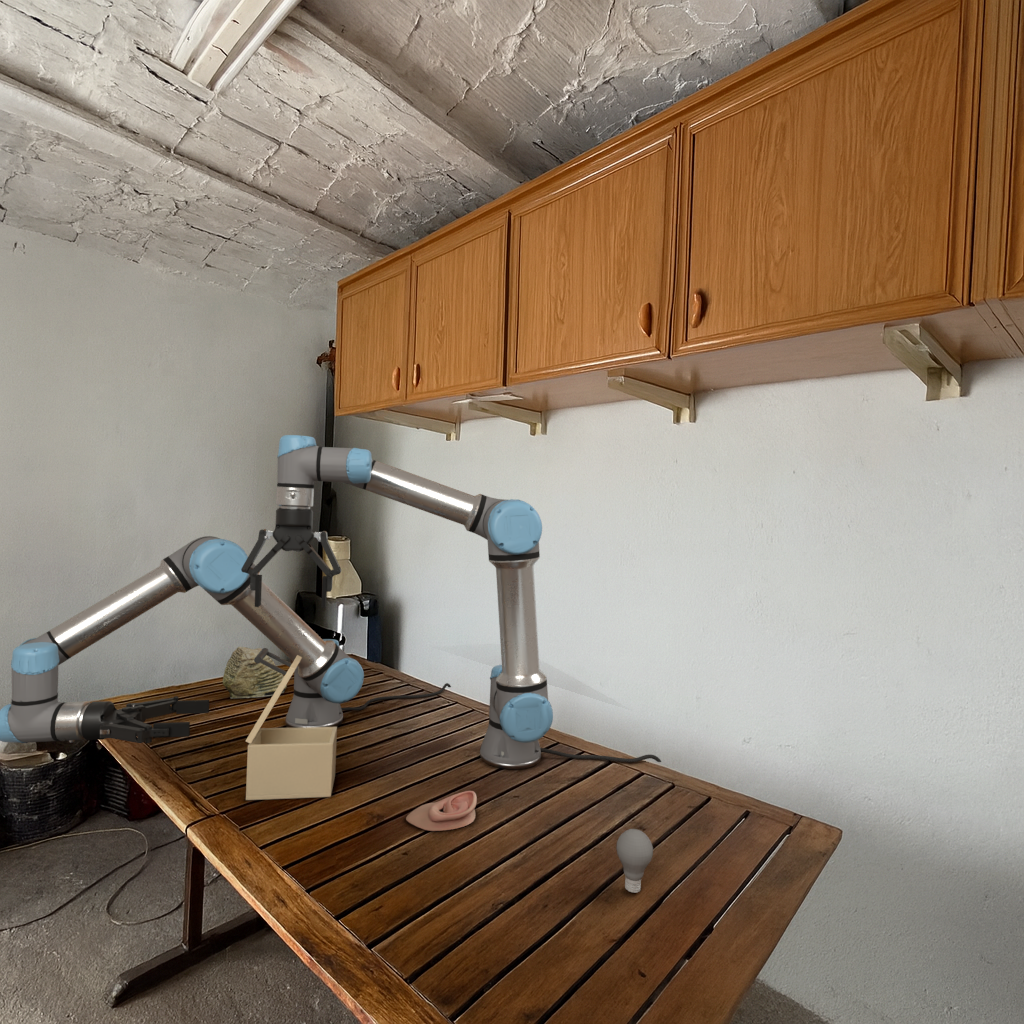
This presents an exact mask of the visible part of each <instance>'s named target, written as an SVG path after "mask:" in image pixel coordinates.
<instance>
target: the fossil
mask: <svg viewBox="0 0 1024 1024" xmlns="http://www.w3.org/2000/svg"><path fill="white" fill-rule="evenodd" d="M262 649H263V648H260V647H258V648H251V647H247V646H246V647H245V646H238V647H237V648H236V649H235V650H233V651H232V653H231V656H230V657H229V659H228V660H227V663H226V666H225V668H224V671H223V675H222V676H223V677H222V685H223V687H224V688H225V690H226V691H228V693H229V698H230V699H250V698H264V697H272V696H273V694H274V693H275V691H276V689H277V688H278V686H279V684H280V683H281V681H282V679H283V678H284V676H285V675H283V674H281V673H279V672H277V671H275V670H273V669H271V668H269V667H267V666H266V665H264V664H262V663H255V662H254V658H255V657H256V656H257V655H258V654H259V652H260V651H261V650H262ZM263 660H265V661H267V662H269V663H271V664H273V665H275V666H277V665H276V663H275V662H274V659H273V658H271V657H269V656H267V655H266V656H265V657H264V659H263ZM287 687H288V686H287V684H286V686H285V688H284V689H283V691H282V693H281V694H284V693H285V691H286V689H287Z"/></svg>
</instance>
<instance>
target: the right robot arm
mask: <svg viewBox="0 0 1024 1024" xmlns="http://www.w3.org/2000/svg"><path fill="white" fill-rule="evenodd" d="M278 443H279V444H278V453H277V475H276V476H277V477H276V479H277V481H276V482H277V483H276V502H275V503H276V506H278V507H277V508H276V510H275V526H274V530H268V529H266V528H261V529H260V530H259V532H258V537H257V538H258V539H257V540H256V543H255V544H254V546H253V548H252V549H251V551H250V553H249V554H248V555H247V556H248V558H247V560H246V562H245V563H244V565H243V567H242V569H241V571H242V572H245V573H248V574H249V575H250V589H251V591H255V607H259V606H260V605H261V589H262V581H263V574H260V575H258V573H259V572H260V573H261V571H262V570H263V568H264V567H266V566H267V564H269V562H270V561H271V560H272V559H273V558H274V557H275V556H276V555H277V554H278V553H279V552H280V551H281V550H283V551H284V552H291V551H292V552H293V551H294V552H302V551H304V552H305V553H306V554H308V555H309V557H310V558H311V559H312V561H314V563H315V564H316V566H318V568H319V569H320V571H322V572H323V574H324V576H323V577H321V578H322V579H321V580H322V581H321V582H322V583H321V605H320V607H321V608H322V609H325V608H326V607H327V599H328V596H327V595H328V593H331V592H332V590H333V578H334V576H337V575H340V574H341V573H342V568H341V566H340V564H339V561H338V559H337V557H336V555H335V553H334V551H333V548H332V547H331V544H330V543H329V537H328V532H327V531H326V530H323V531H315V532H314V529H313V523H314V522H313V521H314V511H313V509H311V508H312V507H314V496H315V482H327V483H329V482H330V483H342V484H346V485H349V486H352V487H355V488H359V489H361V490H365V491H366V492H370V493H373V494H376V495H378V496H380V497H381V496H382V497H384V498H387V499H390V500H392V501H395V502H398V503H401V504H404V505H406V506H409V507H412V508H415V509H418V510H421V511H423V512H426V513H429V514H431V515H435V516H437V517H440V518H443V519H446V520H448V521H451V522H453V523H457V524H460V525H462V526H464V528H465V530H466V531H467V532H470V533H473V534H475V535H476V536H480V537H481V538H483V539H484V540H487V554H488V562H489V563H490V564H491V565H493V566H494V568H495V574H496V575H495V576H496V577H495V578H496V590H497V591H496V593H497V608H498V609H497V610H498V626H499V640H500V641H499V642H500V659H501V664H498V665H494V666H493V667H492V668H491V670H490V677H489V681H490V685H489V686H490V687H489V688H490V689H489V708H488V711H489V712H488V725H487V729H486V732H485V734H484V737H483V740H482V742H481V745H480V751H479V757H480V759H481V761H482V762H484V763H485V764H487V765H488V766H491V767H494V768H498V769H503V770H524V769H529V768H532V767H534V766H537V765H538V764H539V763H540V762H541V760H542V753H544V754H549V755H554V756H559V757H563V758H567V759H574V760H576V759H577V760H603V761H611V762H618V763H631V764H632V763H638V762H642V761H644V760H649V759H652V760H654V761H656V762H657V763H662V760H661V759H660V757H658V756H656V755H655V754H650V753H649V754H644V755H640V756H638V757H633V758H625V757H616V756H610V755H599V754H598V755H597V754H574V753H573V754H571V753H566V752H562V751H559V750H554V749H549V748H544V747H541V745H540V741H539V740H540V739H542V738H543V737H544V736H545V735H546V734H547V733H548V732H549V730H550V729H551V727H552V725H553V721H554V712H553V707H552V703H550V701H549V695H548V694H549V693H548V677H547V674H546V673H545V672H543V671H542V670H541V668H540V656H539V655H540V653H539V637H538V636H539V635H538V618H537V617H538V616H537V603H536V600H537V599H536V586H535V585H536V583H535V568H534V566H535V565H536V563H537V562H538V561H539V560H540V558H541V556H540V555H541V554H540V540H541V538H542V534H543V533H542V532H543V523H542V519H541V516H540V515H539V513H538V511H537V510H536V509H535V508H534V507H533V506H532V505H531V504H530V503H528V502H527V501H524V500H521V499H513V498H510V499H504V498H503V499H502V498H497V497H490V496H488V495H485V494H483V493H478V494H476V495H472V494H470V493H467V492H464V491H461V490H458V489H456V488H454V487H450V486H447V485H445V484H442V483H439V482H437V481H434V480H432V479H429V478H426V477H423V476H420V475H417V474H415V473H412V472H409V471H407V470H404V469H400V468H399V467H398V468H397V467H395V466H393V465H390V464H388V463H384V462H382V461H379V460H376V459H373V456H372V452H371V451H370V450H368V449H365V448H358V447H334V446H333V447H329V446H320V445H317V442H316V438H315V437H313V436H309V435H299V434H284V435H282V436H281V437H280V439H279V441H278ZM271 537H273V539H274V541H275V542H276V544H275V545H274V546H273V547H272V548H271V549H270V550H269V551H268V552H267V553H266V555H264V557H262V559H261V560H260V561H259V562H258V563H257V564H255V561H256V559H257V557H259V554H260V552H261V550H262V549H263V547H264V545H265V543H266V541H268V540H270V539H271ZM314 538H316V540H317V541H318V542H319V543H320V544H321V546H322V548H323V550H324V553H325V555H326V557H327V559H328V561H329V562H330V565H331V567H332V569H331V568H330V566H329V565H328V564H327V563H326V562H325V561H324V559H323V558H322V557H321V556H320V555H319V553H318V552H317V551H316V550H315V548H314V547H313V546H312V544H311V542H312V541H313V540H314ZM253 563H254V564H255V565H256V566H255V567H254V568H251V566H252V564H253Z"/></svg>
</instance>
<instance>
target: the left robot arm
mask: <svg viewBox="0 0 1024 1024" xmlns="http://www.w3.org/2000/svg"><path fill="white" fill-rule="evenodd" d="M248 556H249V555H248V554H247V553H246V551H245V550H244V549H243V548H242V547H241V546H240V545H239V544H238V543H236V542H234V541H232V540H228V539H225V538H220V537H217V536H213V535H212V536H211V535H205V536H200V537H198V538H195V539H193V540H191V541H189V542H188V543H187V544H185V545H183V546H182V547H180V548H179V549H177V550H176V551H174V552H173V553H170V555H168V556H166V557H163V559H161V560H160V563H159V566H158V567H156V568H154V569H152V570H151V571H149V572H147V573H145V574H144V575H142V576H140V577H139V578H137V579H135V580H134V581H132V582H130V583H128V584H126V585H125V586H123V587H121V588H120V589H118V590H116V591H114V592H113V593H111V594H109V595H108V596H106V597H104V598H103V599H101V600H99V601H98V602H96V603H94V604H92V605H91V606H89V607H88V608H85V609H83V610H82V611H80V612H78V613H77V614H75V615H74V616H72V617H70V618H68V619H67V620H65V621H63V622H61V623H60V624H58V625H56V626H55V627H53V628H51V629H50V630H48V631H46V632H44V633H43V634H41V635H39V636H37V637H33V638H29V639H26V640H25V641H23V642H22V643H20V645H19V646H18V645H17V646H16V647H15V648H14V649H13V650H12V654H11V655H12V656H11V661H10V662H11V663H10V669H11V702H10V703H8V704H6V705H4V706H2V708H0V742H2V743H18V744H19V743H21V744H28V743H42V742H43V743H44V742H45V743H46V742H65V741H66V742H67V741H68V742H69V743H70V744H72V743H74V742H75V741H83V740H86V741H102V740H103V741H104V740H105V739H106V740H107V739H113V740H117V741H118V740H119V741H124V742H130V743H135V744H143V743H145V744H150V743H152V742H153V741H152V740H153V739H160V738H189V737H190V735H191V733H190V732H191V722H190V721H175V722H173V721H172V722H154V723H153V724H152V725H151V724H149V723H146V720H149V719H153V718H157V717H161V716H166V715H170V714H174V713H175V714H176V715H192V714H209V713H210V699H190V700H189V699H187V700H179V696H177V695H175V696H173V697H168V698H167V697H166V698H162V699H155V700H147V701H142V702H141V701H140V702H129V703H126V704H125V707H122V708H120V709H117V708H116V707H115V706H116V705H115V703H114V702H113V701H111V700H104V701H100V700H99V701H92V702H90V701H66V702H64V701H63V702H61V701H59V699H58V697H59V691H58V690H59V666H60V665H62V664H63V663H65V662H66V661H68V660H69V659H72V658H73V657H74V656H76V655H77V654H79V653H81V652H83V651H84V650H85V649H87V648H89V647H91V646H93V645H94V644H95V643H97V642H99V641H100V640H102V639H104V638H105V637H107V636H109V635H110V634H112V633H113V632H115V631H117V630H118V629H120V628H122V627H124V626H125V625H127V624H129V623H130V622H131V621H134V620H135V619H137V618H138V617H140V616H142V615H143V614H145V613H147V612H149V611H150V610H151V609H153V608H154V607H157V606H158V605H160V604H161V603H163V602H165V601H166V600H168V599H170V598H171V597H174V595H176V594H178V593H183V594H186V593H187V592H189V591H191V590H192V589H194V588H197V587H200V588H201V589H202V590H204V591H205V592H206V593H207V594H208V595H209V596H211V597H212V598H213V600H215V602H217V603H218V604H219V605H221V606H231V607H233V608H234V609H235V610H236V611H237V612H238V613H240V614H241V615H242V617H244V618H245V619H246V620H247V621H248V622H249V623H251V624H252V626H254V627H255V628H256V629H257V630H258V631H259V632H260V633H261V634H263V635H264V636H265V637H266V638H267V639H268V640H269V641H270V642H271V643H272V644H274V645H275V646H276V647H277V648H278V649H279V650H280V651H281V652H282V653H283V654H284V655H285V656H286V657H287V658H288V659H290V660H291V661H292V662H293V661H294V660H295V658H296V656H297V655H299V656H300V657H302V659H301V661H300V662H299V664H298V666H297V668H296V669H295V671H294V673H293V695H292V696H293V697H292V699H291V702H290V704H289V708H288V711H287V713H286V715H285V726H286V728H300V727H337V728H338V727H339V726H340V725H342V723H343V722H344V714H343V712H346V711H361V710H362V711H363V710H364V709H367V707H368V705H369V704H371V703H373V702H377V701H378V702H379V701H383V700H384V701H385V700H394V699H395V700H396V699H419V698H429V697H433V696H437V695H440V694H442V693H443V692H444V691H445V689H446V688H451V687H452V685H451V684H450V683H448V682H445V683H444V685H443V686H442V687H441V688H440V689H439V690H438V691H434V692H431V693H430V692H429V693H423V694H412V695H411V694H410V695H409V694H408V695H407V694H405V695H402V694H401V695H400V694H399V695H388V696H379V697H373V698H371V699H368V700H367V701H365V703H364V704H363V705H361V706H357V707H354V706H353V707H352V706H350V707H349V706H348V707H347V706H346V707H342V706H341V704H344V703H347V702H349V701H351V700H352V699H354V698H355V697H356V696H357V695H358V694H359V692H360V690H361V689H362V687H363V684H364V679H365V673H364V669H363V667H362V665H361V664H360V663H359V661H358V660H357V659H356V658H355V659H354V658H353V657H351V656H349V654H347V653H346V652H345V651H344V650H343V649H342V648H341V646H340V642H339V640H337V639H334V638H321V636H319V634H318V633H316V631H315V630H313V629H312V628H311V627H310V626H309V624H307V623H306V622H305V621H304V620H303V619H302V618H301V617H300V616H299V615H298V614H297V613H296V612H295V611H294V610H293V609H292V608H291V607H290V606H289V605H288V604H286V602H285V601H283V600H282V598H281V597H280V596H278V595H277V594H276V593H275V592H274V591H273V590H272V589H271V588H270V587H269V586H268V585H267V584H266V583H265V582H264V581H263V580H262V589H261V605H260V606H259V607H255V591H251V589H250V575H249V574H248V573H245V572H242V571H241V569H242V567H243V565H244V563H245V562H246V560H247V558H248ZM256 565H257V564H255V562H254V563H253V564H252V566H251V568H254V567H255V566H256ZM258 575H261V571H260V572H259V573H258Z"/></svg>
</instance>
